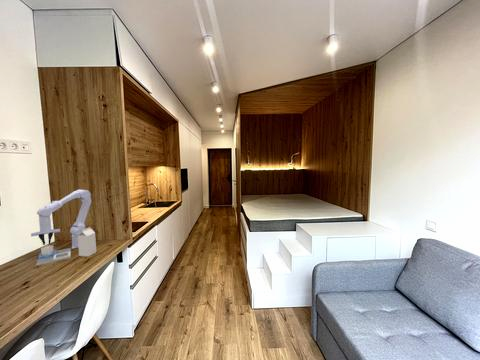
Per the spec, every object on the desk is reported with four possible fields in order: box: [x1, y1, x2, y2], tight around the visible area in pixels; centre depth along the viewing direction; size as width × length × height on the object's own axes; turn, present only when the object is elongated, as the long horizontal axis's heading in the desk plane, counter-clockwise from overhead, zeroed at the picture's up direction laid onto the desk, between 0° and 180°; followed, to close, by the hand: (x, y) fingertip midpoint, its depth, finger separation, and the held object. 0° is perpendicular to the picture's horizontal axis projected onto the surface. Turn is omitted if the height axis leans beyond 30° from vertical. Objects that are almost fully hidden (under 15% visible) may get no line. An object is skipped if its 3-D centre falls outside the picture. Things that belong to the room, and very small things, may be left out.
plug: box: [40, 244, 55, 256], centre depth 146 cm, size 4×4×6 cm
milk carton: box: [78, 226, 97, 257], centre depth 147 cm, size 7×7×19 cm
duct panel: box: [35, 247, 72, 266], centre depth 144 cm, size 17×21×2 cm
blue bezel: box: [38, 249, 57, 259], centre depth 146 cm, size 9×11×1 cm
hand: (46, 244), depth 145 cm, fingers open, 2 cm apart
